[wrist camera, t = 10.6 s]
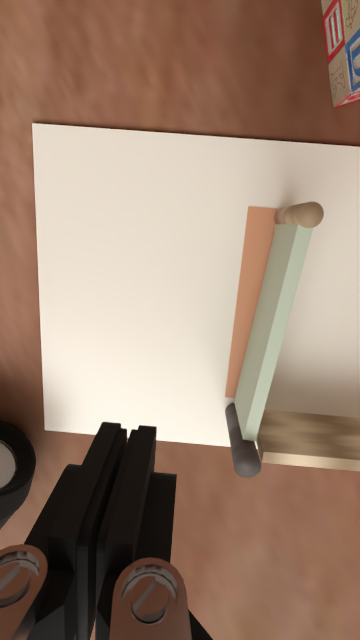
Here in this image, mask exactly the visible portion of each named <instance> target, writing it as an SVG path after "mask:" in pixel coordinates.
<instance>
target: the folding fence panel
mask: <svg viewBox="0 0 360 640" xmlns="http://www.w3.org/2000/svg"><path fill="white" fill-rule="evenodd" d="M323 216H324V211H323V208H322V206H321V205H320V204H319V203H317V202H313V201H312V202H306V203H301V204H297V205H292V206H288V207H283V208H280V209H279V210H278V211H277V212H276V214H275V217H274V220H275V223H276V228H275V232H274V236H273V240H272V245H271V249H270V253H269V257H268V261H267V265H266V270H265V274H264V278H263V282H262V286H261V290H260V295H259V299H258V303H257V307H256V311H255V315H254V319H253V324H252V328H251V332H250V336H249V340H248V344H247V349H246V353H245V357H244V361H243V365H242V369H241V374H240V378H239V382H238V386H237V390H236V394H235V398H234V403H235V407H236V412H237V416H238V421H239V425H240V429H241V434H242V438H243V439H244V440H249V441H256V438H257V434H258V430H259V427H260V423H261V419H262V416H263V412H264V408H265V404H266V401H267V397H268V393H269V390H270V386H271V382H272V379H273V375H274V371H275V367H276V364H277V360H278V356H279V353H280V349H281V345H282V342H283V338H284V334H285V330H286V327H287V323H288V319H289V316H290V312H291V308H292V305H293V301H294V297H295V294H296V290H297V286H298V282H299V279H300V275H301V271H302V268H303V264H304V260H305V257H306V253H307V249H308V245H309V242H310V238H311V234H312V231H313V227H316V226H317V225H319V224H320V223H321V221H322V219H323Z"/></svg>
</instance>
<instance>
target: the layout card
mask: <svg viewBox="0 0 360 640" xmlns="http://www.w3.org/2000/svg"><path fill="white" fill-rule="evenodd" d="M32 130H33V155H34V179H35V203H36V228H37V252H38V277H39V301H40V325H41V350H42V374H43V398H44V423H45V430H50V431H61V432H72V433H83V434H94V435H96V434H97V432H98V430H99V428H100V426H101V424H102V422H112V423H121V428H124V429H127V437H128V438H129V436H130V433H131V430H132V429H135V430H138V427H139V425H145V426H155V427H157V434H156V440H161V441H172V442H184V443H195V444H206V445H217V446H228V447H231V445H230V439H229V433H228V427H227V421H226V415H225V409H226V407H227V406H228V405H229V404H231V403H234V398H235V394H236V390H237V386H238V382H239V378H240V374H241V369H242V365H243V361H244V357H245V353H246V349H247V344H248V340H249V336H250V332H251V328H252V324H253V319H254V315H255V311H256V307H257V303H258V299H259V295H260V290H261V286H262V282H263V278H264V274H265V270H266V265H267V261H268V257H269V253H270V249H271V245H272V240H273V236H274V232H275V228H276V223H275V220H274V217H275V214H276V212H277V211H278V210H279V209H280V208H283V207H288V206H292V205H297V204H301V203H306V202H312V201H313V202H317V203H319V204H320V205H321V206H322V208H323V211H324V216H323V219H322V221H321V223H320V224H319V225H317V226H316V227H313V231H312V234H311V238H310V242H309V245H308V249H307V253H306V257H305V260H304V264H303V268H302V271H301V275H300V279H299V282H298V286H297V290H296V294H295V297H294V301H293V305H292V308H291V312H290V316H289V319H288V323H287V327H286V330H285V334H284V338H283V342H282V345H281V349H280V353H279V356H278V360H277V364H276V367H275V371H274V375H273V379H272V382H271V386H270V390H269V393H268V397H267V401H266V404H265V408H264V410H275V411H286V412H297V413H309V414H320V415H332V416H343V417H355V418H360V147H355V146H341V145H328V144H314V143H300V142H286V141H272V140H258V139H244V138H230V137H217V136H203V135H189V134H175V133H161V132H147V131H133V130H119V129H106V128H92V127H78V126H64V125H50V124H36V123H32ZM254 442H255V445H256V449H258V447H257V443H256V441H254Z"/></svg>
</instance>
